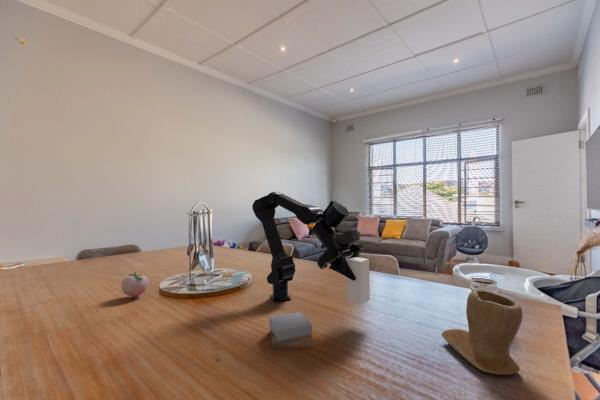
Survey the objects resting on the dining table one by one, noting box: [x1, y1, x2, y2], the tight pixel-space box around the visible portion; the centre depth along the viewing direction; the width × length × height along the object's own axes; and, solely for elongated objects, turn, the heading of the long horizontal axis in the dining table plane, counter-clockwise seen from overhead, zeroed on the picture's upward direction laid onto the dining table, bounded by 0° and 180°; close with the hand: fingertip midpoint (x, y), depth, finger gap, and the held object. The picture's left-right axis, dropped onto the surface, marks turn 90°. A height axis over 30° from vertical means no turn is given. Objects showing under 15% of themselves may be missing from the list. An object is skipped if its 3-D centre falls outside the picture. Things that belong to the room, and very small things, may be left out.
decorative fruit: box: [121, 271, 150, 298], centre depth 106 cm, size 9×8×10 cm
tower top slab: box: [268, 311, 313, 341], centre depth 73 cm, size 9×9×2 cm
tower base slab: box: [269, 327, 314, 351], centre depth 72 cm, size 10×10×2 cm
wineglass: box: [469, 277, 499, 294], centre depth 80 cm, size 7×7×12 cm
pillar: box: [346, 257, 371, 305], centre depth 80 cm, size 5×5×12 cm
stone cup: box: [441, 290, 523, 376], centre depth 62 cm, size 15×12×15 cm
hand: (359, 278), depth 80 cm, fingers closed on pillar, 5 cm apart
